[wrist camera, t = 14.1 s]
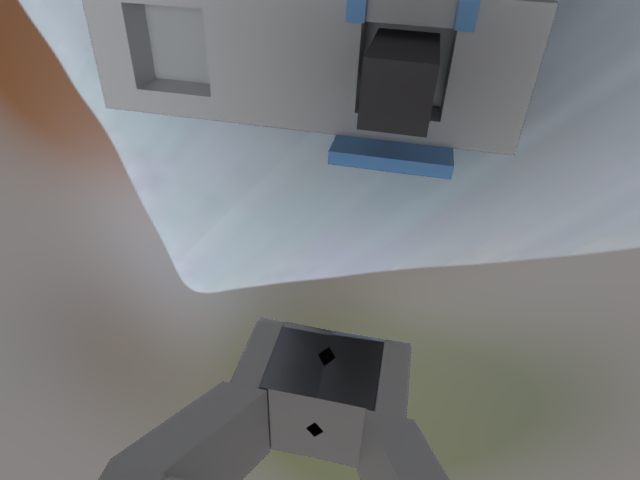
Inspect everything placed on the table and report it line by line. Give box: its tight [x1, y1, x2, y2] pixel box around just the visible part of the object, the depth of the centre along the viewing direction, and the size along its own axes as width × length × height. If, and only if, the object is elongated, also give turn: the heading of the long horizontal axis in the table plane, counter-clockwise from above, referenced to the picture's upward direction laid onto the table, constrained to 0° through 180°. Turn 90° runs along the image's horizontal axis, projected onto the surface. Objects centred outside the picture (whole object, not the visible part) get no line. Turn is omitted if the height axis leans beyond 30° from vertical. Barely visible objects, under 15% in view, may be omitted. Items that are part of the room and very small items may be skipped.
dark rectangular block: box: [357, 28, 440, 138], centre depth 26 cm, size 4×4×7 cm
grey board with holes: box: [82, 0, 559, 179], centre depth 28 cm, size 9×26×6 cm, turn 88°
